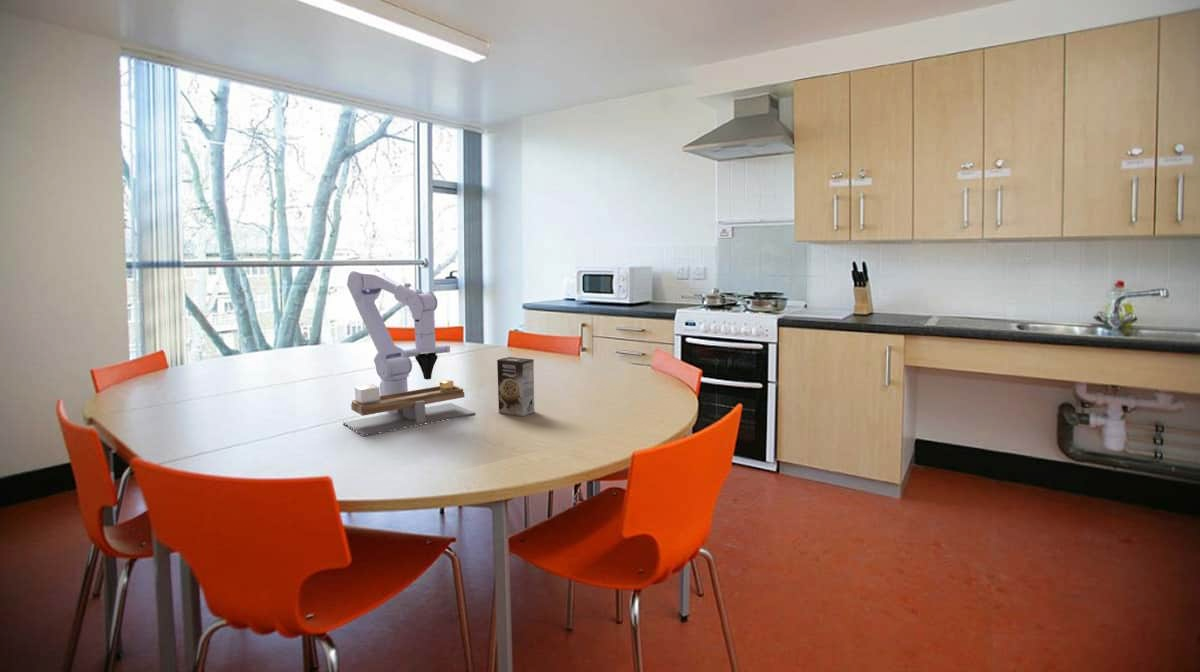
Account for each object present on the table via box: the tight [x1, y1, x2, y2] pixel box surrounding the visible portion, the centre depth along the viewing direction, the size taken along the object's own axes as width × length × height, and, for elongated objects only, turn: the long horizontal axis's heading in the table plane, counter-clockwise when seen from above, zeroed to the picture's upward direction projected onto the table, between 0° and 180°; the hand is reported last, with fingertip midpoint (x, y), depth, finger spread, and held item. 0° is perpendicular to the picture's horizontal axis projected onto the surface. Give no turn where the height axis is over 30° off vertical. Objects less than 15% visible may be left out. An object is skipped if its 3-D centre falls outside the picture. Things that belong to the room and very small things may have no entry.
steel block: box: [354, 384, 380, 406], centre depth 176 cm, size 5×5×5 cm
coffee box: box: [496, 356, 535, 417], centre depth 190 cm, size 9×6×16 cm
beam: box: [350, 385, 466, 417], centre depth 184 cm, size 12×30×2 cm, turn 129°
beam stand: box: [342, 400, 476, 435], centre depth 184 cm, size 16×33×6 cm, turn 129°
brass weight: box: [439, 379, 455, 392], centre depth 191 cm, size 4×4×3 cm
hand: (427, 378), depth 192 cm, fingers closed
